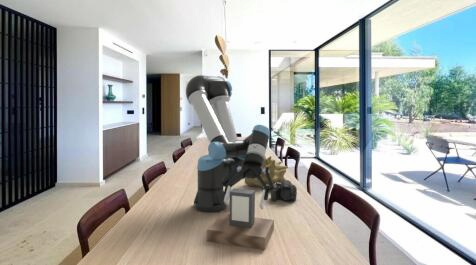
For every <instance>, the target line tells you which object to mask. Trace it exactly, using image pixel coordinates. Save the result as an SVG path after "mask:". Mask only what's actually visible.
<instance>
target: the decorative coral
mask: <svg viewBox="0 0 476 265" xmlns="http://www.w3.org/2000/svg"><path fill="white" fill-rule="evenodd" d="M281 164H282V161H278V162H276V160H275V159H272V156H270V155H269V157H266V155H265V157H264V162H263V166H262V169H266V167H268V168H269V175H270V178H271V181H272V184H276V183H282V182H283V181H284V180H285V179H286V178H285V174H286V172H287V169H288V166H287V165H281ZM260 176H261V178H262V179H263V181H264V182H265V183H266V185H267V186H269V183H268V180H267V177H266V175H265V174H264V172H262V173H261V174H260ZM244 184H245V185H246V186H248V187H254V186H255V187H256V186H257V187H262V185H261V184H260V182H259V181H258V179H257V178H254V179H252V178H244Z"/></svg>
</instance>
